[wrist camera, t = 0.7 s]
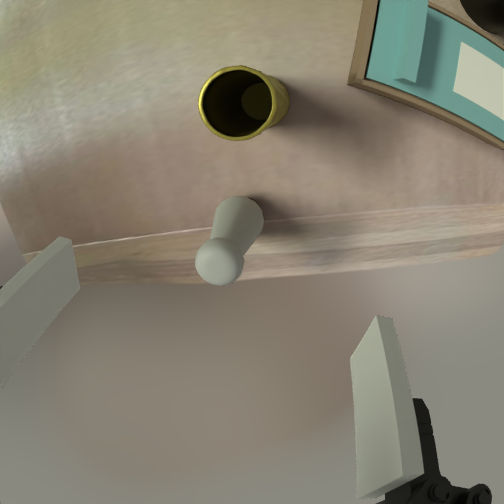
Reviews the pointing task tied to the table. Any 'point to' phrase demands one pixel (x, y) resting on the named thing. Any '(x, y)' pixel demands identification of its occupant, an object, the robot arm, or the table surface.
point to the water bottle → (486, 14)
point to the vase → (242, 102)
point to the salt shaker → (229, 240)
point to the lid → (439, 62)
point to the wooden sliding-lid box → (361, 82)
